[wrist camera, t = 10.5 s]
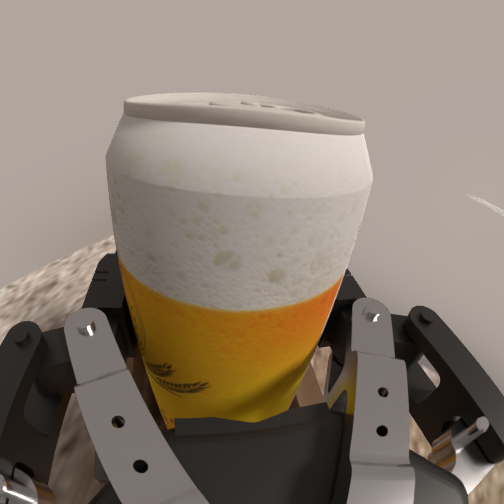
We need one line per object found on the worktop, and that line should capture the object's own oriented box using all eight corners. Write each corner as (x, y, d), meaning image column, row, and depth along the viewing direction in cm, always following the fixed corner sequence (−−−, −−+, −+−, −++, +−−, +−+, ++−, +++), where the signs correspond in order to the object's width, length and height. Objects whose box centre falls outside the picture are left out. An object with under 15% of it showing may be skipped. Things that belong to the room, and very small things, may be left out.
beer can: (174, 370, 16) (155, 91, 8) (273, 377, 17) (337, 107, 9) (159, 460, 11) (40, 118, 3) (279, 468, 12) (446, 152, 3)
